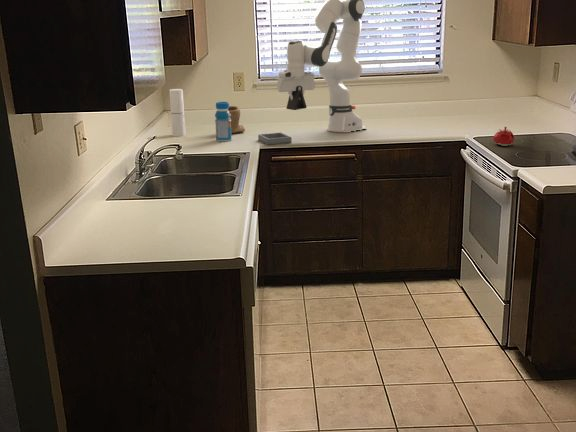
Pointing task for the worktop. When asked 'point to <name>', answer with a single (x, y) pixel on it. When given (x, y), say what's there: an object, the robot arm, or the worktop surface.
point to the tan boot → (235, 119)
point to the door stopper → (296, 100)
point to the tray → (274, 138)
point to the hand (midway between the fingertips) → (296, 99)
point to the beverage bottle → (223, 122)
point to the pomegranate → (504, 137)
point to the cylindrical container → (177, 112)
